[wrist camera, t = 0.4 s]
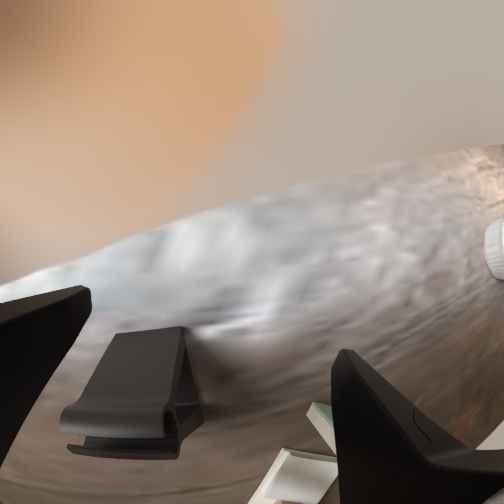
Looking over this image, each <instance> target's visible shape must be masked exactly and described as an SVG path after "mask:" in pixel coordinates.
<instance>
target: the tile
mask: <svg viewBox="0 0 504 504" xmlns="http://www.w3.org/2000/svg"><path fill="white" fill-rule="evenodd" d="M306 416H307V417H308V418H309V420H310V421H311V422H312V424H313V425H314V426H315V428H316V429H317V431H318V432H319V433H320V435H321V436H322V437H323V439H324V440H325V441H326V443H327V444H328V445H329V447H330V448H331V449H332V450H333V452H334V453H335V454H336V446H335V436H334V427H333V418H332V409H331V406H329V405H325V404H321V403H317V402H314V401H313V402H312V404H311V406H310V408H309V410H308V412H307V414H306Z"/></svg>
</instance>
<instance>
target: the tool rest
mask: <svg viewBox="0 0 504 504" xmlns="http://www.w3.org/2000/svg"><path fill="white" fill-rule="evenodd" d="M289 452H293V453H299V454H304V455H310V456H316V457H322V458H329V459H337V457H333V456H326V455H319V454H313V453H307V452H302V451H297V450H292V449H287V448H283V447H282V449H281V451H280V453H279V454H278V456H277V458H276V460H275V461H274V463H273V465H272V466H271V468H270V470H269V471H268V473H267V475H266V476H265V478H264V479H263V481H262V483H261V484H260V486H259V487H258V489H257V490H256V492H255V493H254V495H253V496H252V498H251V499H250V501H249V502H248V504H274V503H275V501H276V499H270V498H265V497H264V492H265V490H266V489H267V487H268V486H269V484H270V483H271V481H272V480H273V478H274V477H275V475H276V473H277V472H278V470H279V468H280V467H281V465H282V464H283V462H284V460H285V459H286V457H287V455H288V453H289ZM303 504H313V503H303Z"/></svg>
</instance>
